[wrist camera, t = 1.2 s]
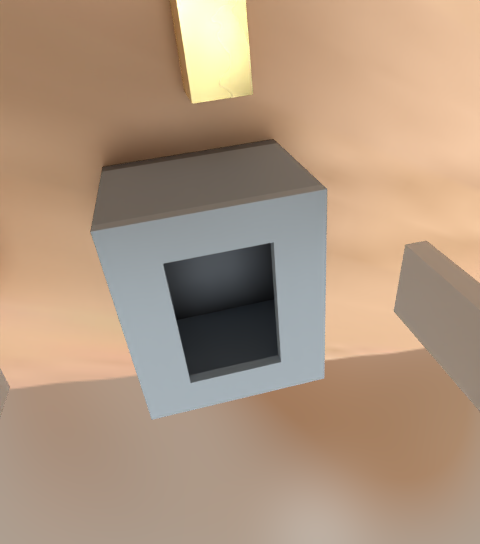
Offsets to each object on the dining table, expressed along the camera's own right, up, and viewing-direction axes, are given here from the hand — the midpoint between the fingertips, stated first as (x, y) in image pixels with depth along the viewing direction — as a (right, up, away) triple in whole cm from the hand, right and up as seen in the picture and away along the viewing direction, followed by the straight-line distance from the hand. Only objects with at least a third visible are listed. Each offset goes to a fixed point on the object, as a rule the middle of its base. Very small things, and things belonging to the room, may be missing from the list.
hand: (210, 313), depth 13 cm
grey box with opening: (-2, +4, +20) cm, 20 cm away
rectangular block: (-1, +16, +13) cm, 20 cm away
